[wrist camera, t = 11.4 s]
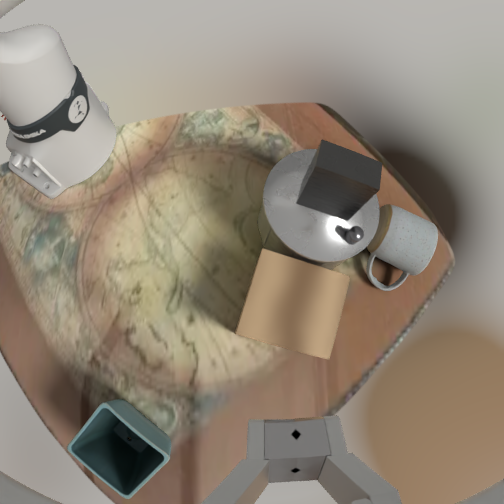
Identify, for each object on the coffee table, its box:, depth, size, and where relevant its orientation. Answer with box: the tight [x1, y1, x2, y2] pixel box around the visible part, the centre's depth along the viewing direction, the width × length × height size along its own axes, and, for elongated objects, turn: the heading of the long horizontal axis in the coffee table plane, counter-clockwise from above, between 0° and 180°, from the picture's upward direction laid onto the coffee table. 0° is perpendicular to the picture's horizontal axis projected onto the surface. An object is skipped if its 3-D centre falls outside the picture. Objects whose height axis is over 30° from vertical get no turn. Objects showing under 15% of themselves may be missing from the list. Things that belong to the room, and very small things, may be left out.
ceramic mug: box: [366, 204, 438, 291], centre depth 36 cm, size 11×8×8 cm
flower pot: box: [67, 399, 171, 499], centre depth 27 cm, size 9×9×9 cm
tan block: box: [235, 248, 350, 359], centre depth 34 cm, size 10×9×7 cm
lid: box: [263, 140, 382, 263], centre depth 29 cm, size 14×14×9 cm
